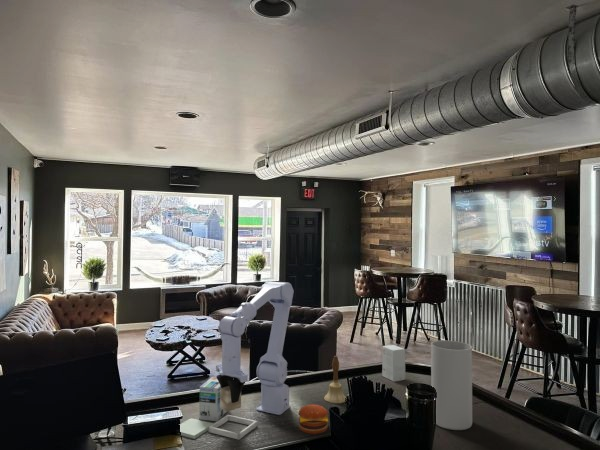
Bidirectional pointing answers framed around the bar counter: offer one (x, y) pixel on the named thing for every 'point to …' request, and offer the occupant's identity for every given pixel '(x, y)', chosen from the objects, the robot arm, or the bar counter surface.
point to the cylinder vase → (452, 383)
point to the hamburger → (313, 419)
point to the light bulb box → (210, 401)
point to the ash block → (228, 400)
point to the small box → (393, 363)
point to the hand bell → (335, 386)
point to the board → (194, 428)
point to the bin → (230, 434)
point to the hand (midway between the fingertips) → (230, 399)
